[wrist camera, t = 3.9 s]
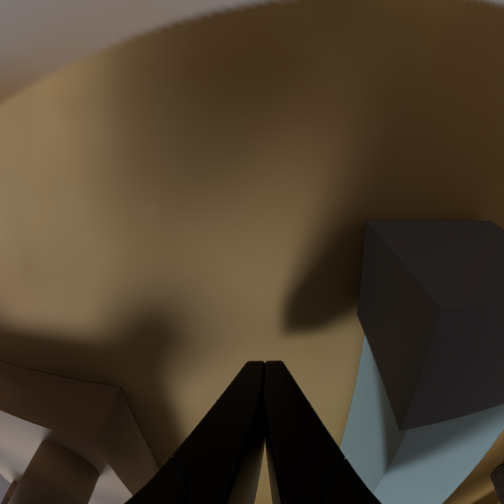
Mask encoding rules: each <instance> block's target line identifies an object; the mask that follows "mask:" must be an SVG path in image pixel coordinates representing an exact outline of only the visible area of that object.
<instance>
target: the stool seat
mask: <svg viewBox="0 0 504 504" xmlns="http://www.w3.org/2000/svg"><path fill="white" fill-rule="evenodd" d="M159 470H160V468H159V466H158V464H157V462H156V460H155V458H154V457H153V455H152V453H151V451H150V449H149V447H148V445H147V443H146V441H145V439H144V437H143V435H142V433H141V431H140V429H139V427H138V425H137V423H136V420H135V418H134V416H133V414H132V412H131V410H130V407H129V405H128V403H127V400H126V398H125V396H124V394H123V391H122V389H121V387H116V386H109V385H103V384H97V383H91V382H86V381H80V380H75V379H70V378H65V377H61V376H56V375H51V374H47V373H43V372H39V371H35V370H31V369H27V368H23V367H19V366H15V365H12V364H8V363H5V362H1V361H0V474H1V475H3V476H4V478H5V479H6V480H7V481H8V482H10V483H11V485H10V487H9V489H8V491H7V493H6V495H5V497H4V499H3V501H2V502H1V504H124V503H125V502H126V501H127V500H129V499H130V498H131V497H132V496H133V495H134V494H136V493H137V492H138V491H139V490H140V489H141V488H142V487H143V486H144V485H146V484H147V483H148V481H149V480H150V479H151V478H152V477H153V476H154V475H155V474H156V473H157V472H158V471H159Z"/></svg>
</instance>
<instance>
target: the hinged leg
mask: <svg viewBox="0 0 504 504" xmlns="http://www.w3.org/2000/svg"><path fill="white" fill-rule="evenodd" d="M357 316H358V318H359V321H360V323H361V326H362V328H363V331H364V333H365V337H364V343H363V348H362V354H361V359H360V365H359V370H358V375H357V380H356V384H355V389H354V394H353V398H352V403H351V407H350V411H349V415H348V420H347V424H346V428H345V431H344V435H343V439H342V443H341V446H340V450H341V451H342V453H343V454H344V456H345V459H347V460H348V461H349V463H350V464H351V465H352V467H353V468H354V470H355V471H356V473H357V474H358V475H359V477H360V478H361V479H362V481H363V482H364V483H365V485H366V486H367V487H368V488H369V490H370V491H371V492H372V493H373V494H374V495H375V496H376V497H377V499H378V500H379V501H380V502H381V503H382V504H442V503H443V502H444V501H445V500H446V499H447V498H448V497H449V496H450V495H451V494H452V493H453V492H454V491H455V490H456V489H457V487H458V486H459V485H460V484H461V483H462V482H463V481H464V480H465V478H466V477H467V476H468V475H469V474H470V473H471V471H472V470H473V469H474V468H475V467H476V465H477V464H478V463H479V462H480V460H481V459H482V458H483V457H484V455H485V454H486V453H487V451H488V450H489V449H490V447H491V446H492V445H493V443H494V442H495V441H496V439H497V438H498V436H499V435H500V434H501V432H502V431H503V429H504V229H503V228H501V227H499V226H498V225H496V224H494V223H492V222H491V221H455V220H365V232H364V247H363V260H362V271H361V282H360V291H359V300H358V308H357Z"/></svg>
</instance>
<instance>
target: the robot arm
mask: <svg viewBox="0 0 504 504" xmlns="http://www.w3.org/2000/svg"><path fill="white" fill-rule="evenodd" d="M265 444H266V455H267V463H268V471H269V479H270V487H271V495H272V503H273V504H382V503H381V502H380V501H379V500H378V499H377V497H376V496H375V495H374V494H373V493H372V492H371V491H370V490H369V488H368V487H367V486H366V485H365V483H364V482H363V481H362V479H361V478H360V477H359V475H358V474H357V473H356V471H355V470H354V468H353V467H352V465H351V464H350V463H349V461H348V460H347V459H345V456H344V454H343V453H342V451H341V450H340V448H339V447H338V445H337V444H336V442H335V441H334V439H333V438H332V436H331V435H330V433H329V432H328V430H327V429H326V427H325V426H324V424H323V423H322V421H321V420H320V418H319V417H318V415H317V413H316V412H315V410H314V409H313V407H312V406H311V404H310V403H309V401H308V400H307V398H306V397H305V395H304V394H303V392H302V390H301V389H300V387H299V386H298V384H297V383H296V381H295V380H294V378H293V376H292V375H291V373H290V372H289V370H288V369H287V367H286V366H285V364H284V363H283V361H266V362H265V363H264V361H248V362H247V363H246V364H245V365H244V366H243V368H242V369H241V370H240V372H239V373H238V374H237V376H236V377H235V378H234V380H233V381H232V382H231V383H230V385H229V386H228V387H227V389H226V390H225V391H224V392H223V394H222V395H221V396H220V398H219V399H218V400H217V401H216V403H215V404H214V405H213V406H212V408H211V409H210V410H209V411H208V413H207V414H206V415H205V416H204V418H203V419H202V420H201V421H200V423H199V424H198V425H197V426H196V427H195V429H194V430H193V431H192V432H191V434H190V435H189V436H188V437H187V438H186V440H185V441H184V442H183V443H182V444H181V446H180V447H179V448H178V449H177V450H176V451H175V453H174V454H173V457H170V458H169V459H168V461H167V462H166V463H165V464H164V465H163V466H162V468H161V469H160V470H159V471H158V472H157V473H156V474H155V475H154V476H153V477H152V478H151V479H150V480H149V481H148V483H147V484H146V485H144V486H143V487H142V488H141V489H140V490H139V491H138V492H137V493H136V494H134V495H133V496H132V497H131V498H130V499H129V500H127V501H126V502H125V503H124V504H254V502H255V497H256V492H257V487H258V481H259V476H260V470H261V464H262V459H263V453H264V446H265Z"/></svg>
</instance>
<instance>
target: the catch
mask: <svg viewBox="0 0 504 504" xmlns="http://www.w3.org/2000/svg"><path fill="white" fill-rule="evenodd" d="M490 477H491V480H492V482H493V485H494V487H495V490H496V492H497V495H498V498H499V500H500V503H501V504H504V464H502V465H500V466H498V467H497V468H496V469H495V470H494V471H493V473H492V474H491V475H490Z"/></svg>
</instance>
